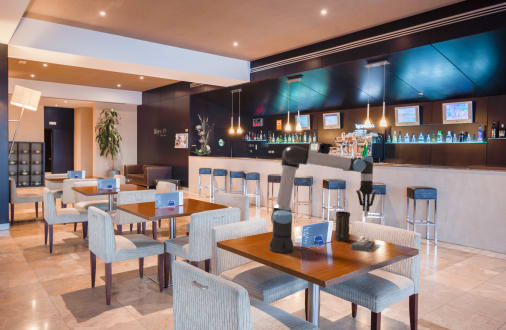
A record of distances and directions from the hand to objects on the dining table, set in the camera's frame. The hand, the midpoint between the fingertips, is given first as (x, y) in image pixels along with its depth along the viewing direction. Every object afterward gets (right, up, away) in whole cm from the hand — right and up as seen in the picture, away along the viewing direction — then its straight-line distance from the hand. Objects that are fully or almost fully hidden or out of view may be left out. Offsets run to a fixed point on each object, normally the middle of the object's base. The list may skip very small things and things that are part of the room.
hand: (365, 216), depth 229 cm
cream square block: (-2, -17, -1) cm, 17 cm away
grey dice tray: (-2, -20, -1) cm, 20 cm away
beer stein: (-11, -20, +17) cm, 28 cm away
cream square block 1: (-5, -17, -6) cm, 19 cm away
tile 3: (+1, -17, +4) cm, 18 cm away
